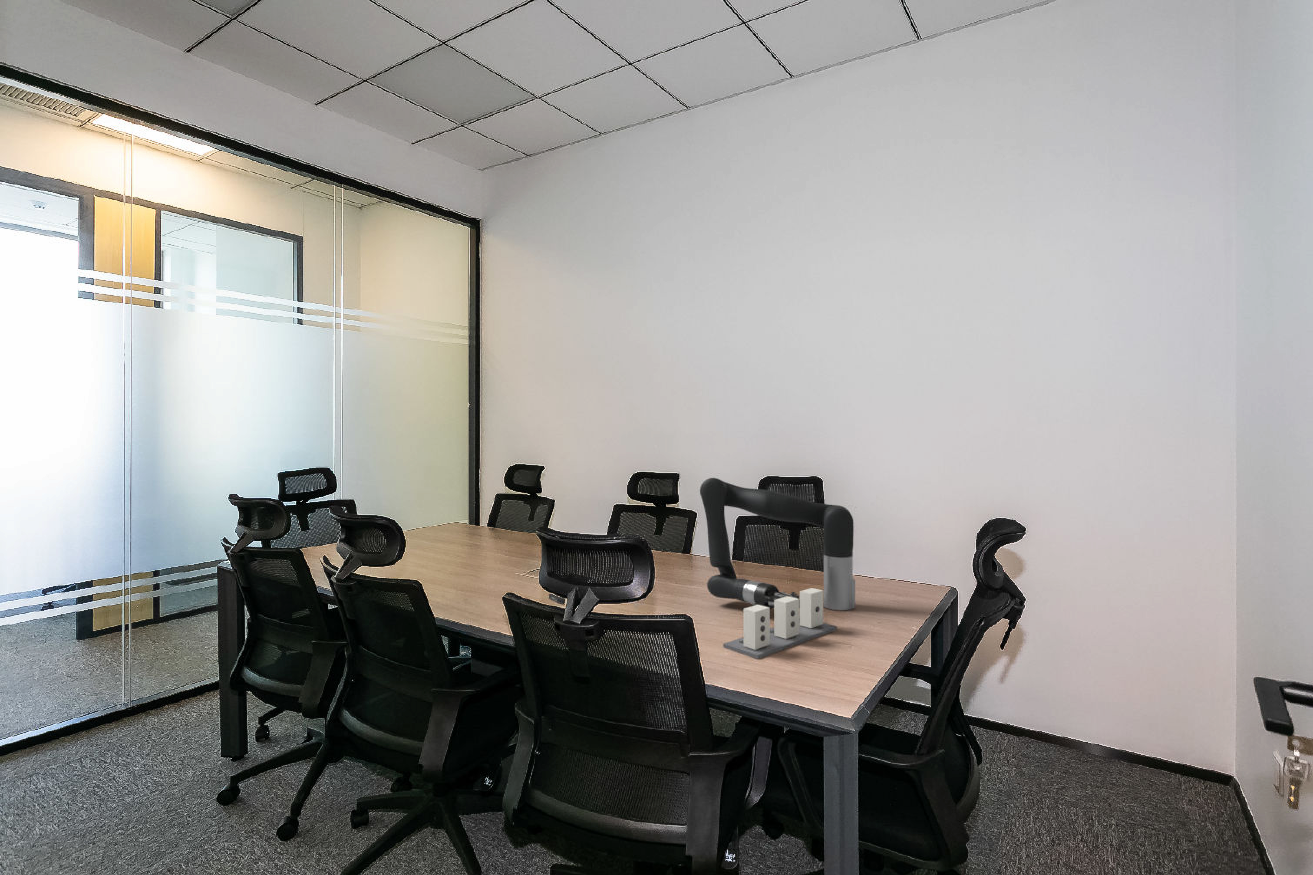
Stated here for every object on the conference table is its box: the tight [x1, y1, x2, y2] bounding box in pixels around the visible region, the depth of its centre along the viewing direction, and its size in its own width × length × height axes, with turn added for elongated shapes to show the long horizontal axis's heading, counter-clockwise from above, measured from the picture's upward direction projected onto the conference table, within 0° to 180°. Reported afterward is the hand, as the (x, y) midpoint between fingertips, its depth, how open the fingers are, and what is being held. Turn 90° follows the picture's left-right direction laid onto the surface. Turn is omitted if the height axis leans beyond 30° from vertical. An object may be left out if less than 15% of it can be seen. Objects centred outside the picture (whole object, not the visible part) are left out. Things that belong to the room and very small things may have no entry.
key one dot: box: [799, 587, 824, 628], centre depth 193 cm, size 4×6×10 cm
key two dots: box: [773, 596, 800, 639], centre depth 183 cm, size 4×6×10 cm
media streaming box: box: [548, 593, 565, 606], centre depth 229 cm, size 15×15×3 cm
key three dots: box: [742, 605, 771, 650], centre depth 175 cm, size 4×6×10 cm
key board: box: [723, 618, 838, 660], centre depth 185 cm, size 12×36×1 cm, turn 131°
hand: (805, 605), depth 194 cm, fingers closed
